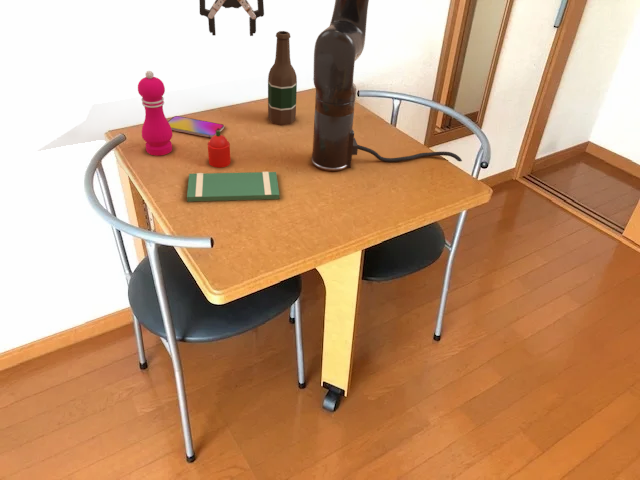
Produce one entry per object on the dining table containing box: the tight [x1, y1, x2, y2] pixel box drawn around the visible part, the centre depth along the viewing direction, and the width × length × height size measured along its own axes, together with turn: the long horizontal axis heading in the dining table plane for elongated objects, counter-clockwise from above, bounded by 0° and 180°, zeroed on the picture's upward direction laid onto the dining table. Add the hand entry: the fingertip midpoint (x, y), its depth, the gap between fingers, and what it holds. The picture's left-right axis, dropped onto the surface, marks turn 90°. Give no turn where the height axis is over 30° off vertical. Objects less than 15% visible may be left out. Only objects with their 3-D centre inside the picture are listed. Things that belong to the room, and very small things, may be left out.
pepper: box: [207, 130, 232, 169], centre depth 132 cm, size 5×5×8 cm
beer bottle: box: [267, 30, 298, 126], centre depth 148 cm, size 8×8×24 cm
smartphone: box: [167, 115, 225, 139], centre depth 148 cm, size 7×1×15 cm
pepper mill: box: [137, 70, 173, 157], centre depth 131 cm, size 7×7×20 cm
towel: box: [186, 171, 280, 203], centre depth 125 cm, size 20×10×1 cm, turn 98°
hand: (232, 34), depth 127 cm, fingers open, 8 cm apart
